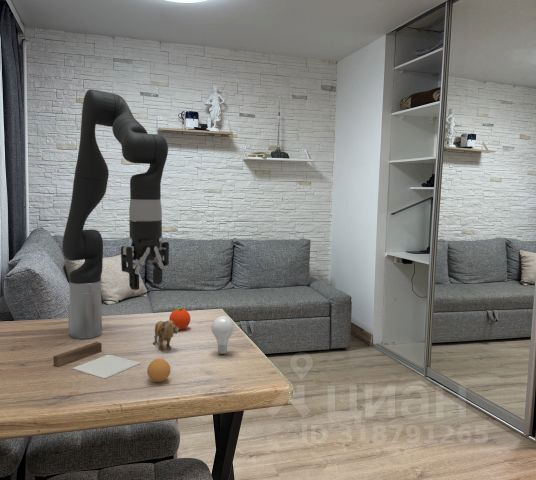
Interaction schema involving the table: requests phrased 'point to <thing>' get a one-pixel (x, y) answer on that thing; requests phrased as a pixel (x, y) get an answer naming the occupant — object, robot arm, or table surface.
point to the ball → (158, 370)
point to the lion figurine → (165, 333)
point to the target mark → (106, 366)
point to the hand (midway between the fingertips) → (146, 286)
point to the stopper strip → (77, 354)
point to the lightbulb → (222, 332)
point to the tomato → (180, 318)
